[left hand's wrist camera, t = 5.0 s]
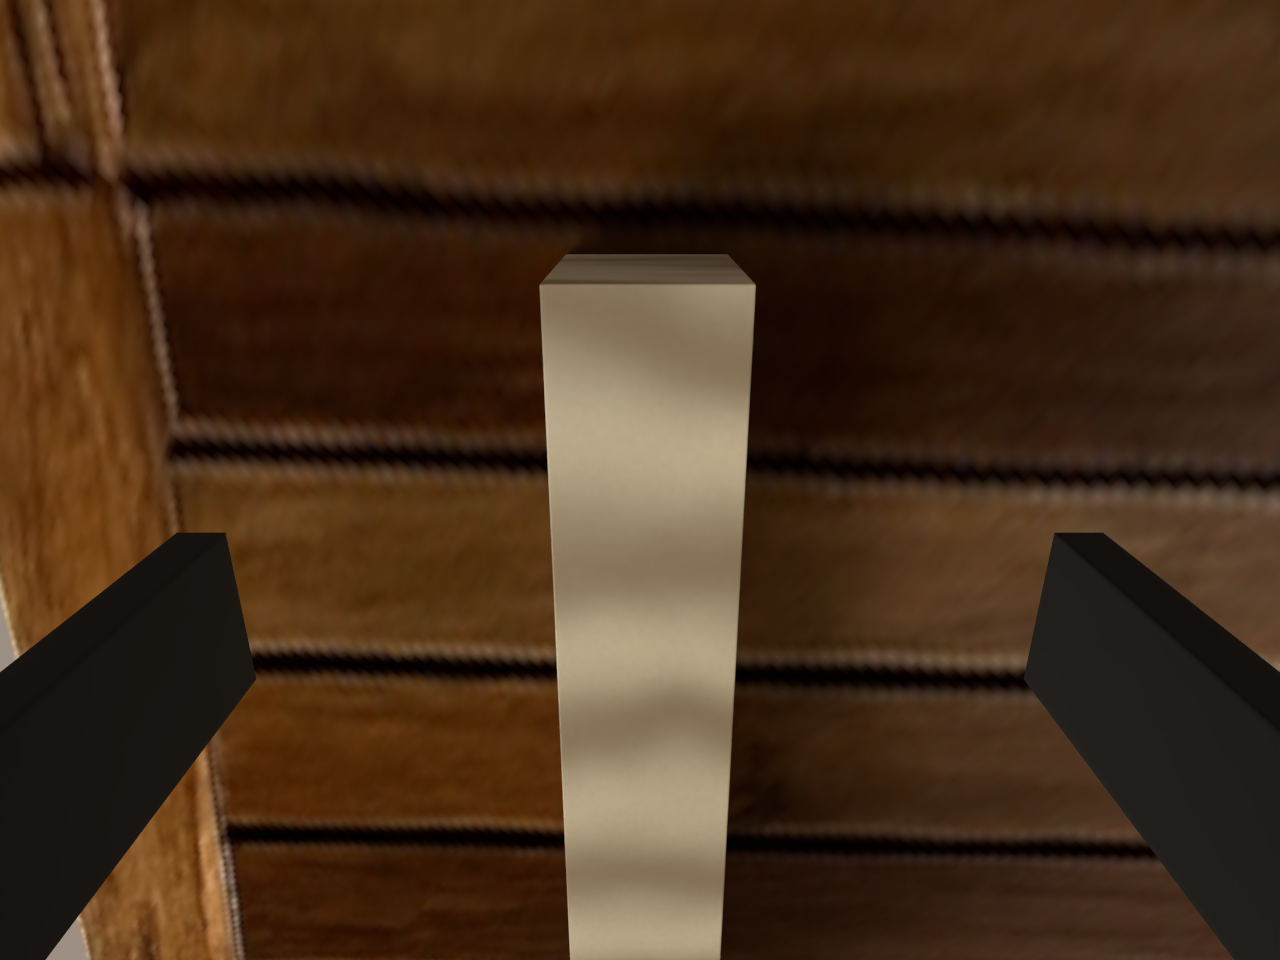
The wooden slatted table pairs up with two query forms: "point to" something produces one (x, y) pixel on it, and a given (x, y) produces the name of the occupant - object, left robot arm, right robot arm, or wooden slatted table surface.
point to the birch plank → (646, 587)
